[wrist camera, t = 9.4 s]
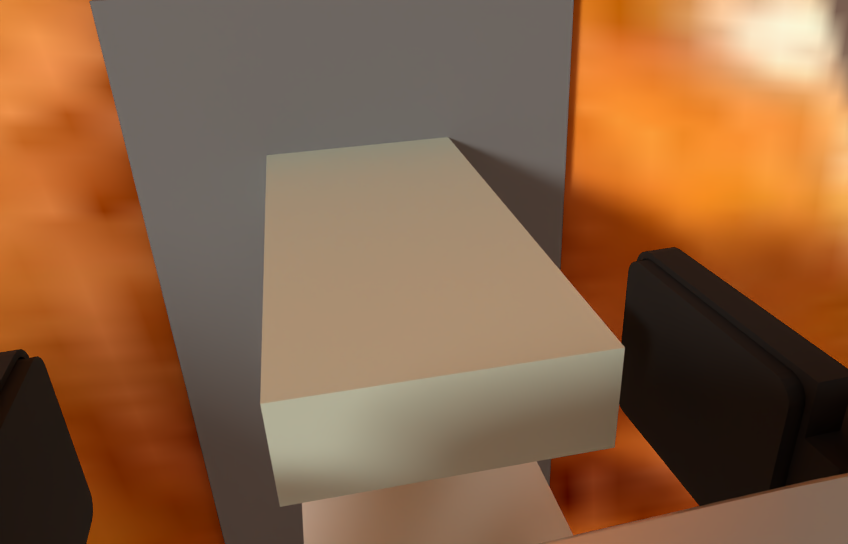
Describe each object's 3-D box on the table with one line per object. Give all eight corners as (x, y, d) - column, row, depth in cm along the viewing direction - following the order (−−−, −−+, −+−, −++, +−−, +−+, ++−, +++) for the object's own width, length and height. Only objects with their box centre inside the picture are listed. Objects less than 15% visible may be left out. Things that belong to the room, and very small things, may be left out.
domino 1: (266, 155, 18) (260, 404, 9) (447, 137, 19) (625, 347, 10) (276, 217, 19) (279, 506, 10) (449, 197, 20) (614, 447, 10)
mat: (538, 646, 31) (541, 654, 31) (268, 705, 29) (267, 715, 29) (569, -31, 18) (574, -30, 18) (93, 0, 16) (89, 1, 16)
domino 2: (455, 342, 22) (593, 657, 13) (300, 364, 22) (321, 718, 12) (453, 293, 22) (600, 590, 12) (292, 315, 21) (309, 652, 11)
